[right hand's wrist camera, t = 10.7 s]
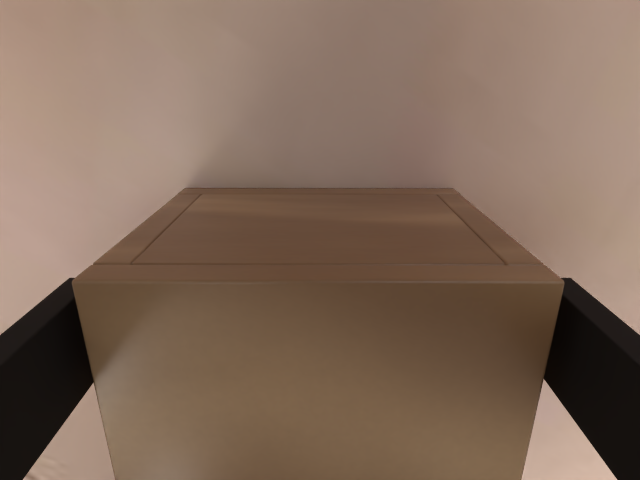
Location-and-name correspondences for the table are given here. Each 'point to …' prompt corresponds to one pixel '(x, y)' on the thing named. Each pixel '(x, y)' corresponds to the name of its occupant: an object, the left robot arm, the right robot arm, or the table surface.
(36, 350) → the right robot arm
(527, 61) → the table surface
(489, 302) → the cabinet
